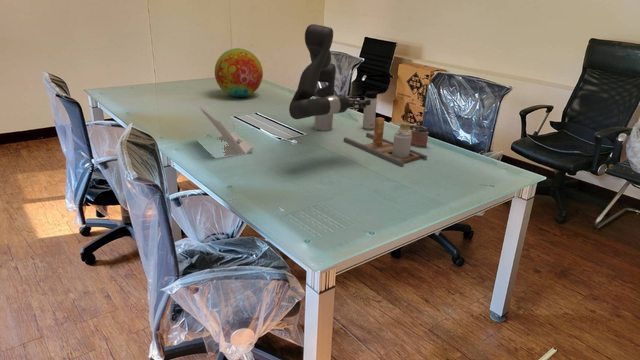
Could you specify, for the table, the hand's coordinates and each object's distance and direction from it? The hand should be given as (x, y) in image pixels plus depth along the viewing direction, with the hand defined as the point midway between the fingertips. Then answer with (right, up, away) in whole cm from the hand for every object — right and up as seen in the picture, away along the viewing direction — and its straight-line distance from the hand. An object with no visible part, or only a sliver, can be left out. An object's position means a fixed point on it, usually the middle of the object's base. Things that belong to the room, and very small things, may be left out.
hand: (363, 100), depth 198 cm
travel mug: (+7, -8, +44) cm, 45 cm away
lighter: (+28, -19, +20) cm, 39 cm away
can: (+17, -25, +5) cm, 30 cm away
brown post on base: (+13, -22, +9) cm, 28 cm away
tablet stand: (-62, -20, +9) cm, 66 cm away
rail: (+10, -21, +13) cm, 27 cm away
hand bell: (+25, -10, +39) cm, 47 cm away
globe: (-71, +19, +98) cm, 122 cm away
